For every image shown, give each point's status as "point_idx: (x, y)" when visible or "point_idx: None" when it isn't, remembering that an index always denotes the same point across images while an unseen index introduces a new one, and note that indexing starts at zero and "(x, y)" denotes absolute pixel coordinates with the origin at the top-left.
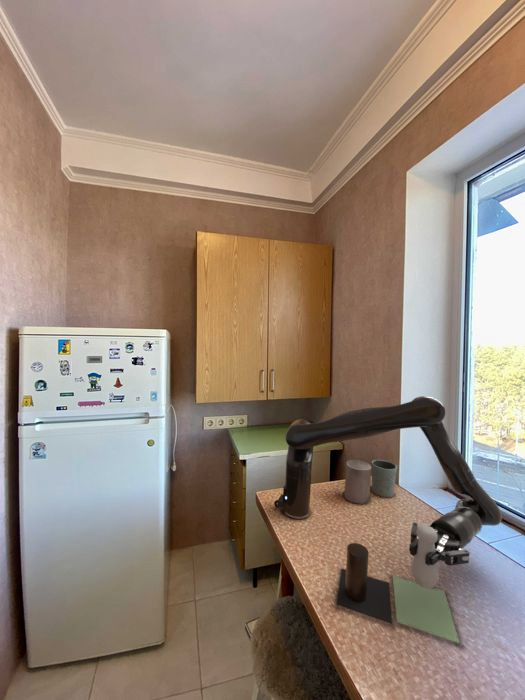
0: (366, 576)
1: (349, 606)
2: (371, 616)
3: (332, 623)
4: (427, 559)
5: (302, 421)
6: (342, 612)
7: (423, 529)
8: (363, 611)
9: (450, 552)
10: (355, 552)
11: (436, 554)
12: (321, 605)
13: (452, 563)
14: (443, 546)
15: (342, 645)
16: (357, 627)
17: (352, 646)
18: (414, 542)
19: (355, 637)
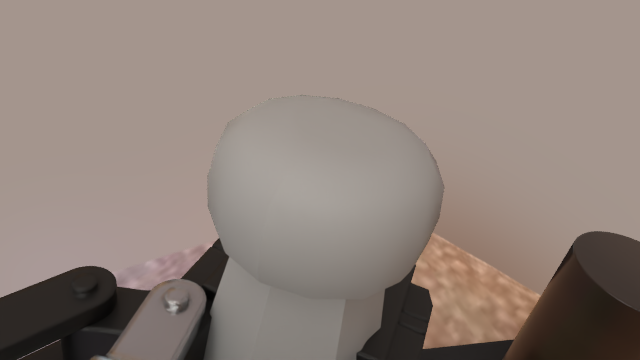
0: (524, 339)
1: (501, 349)
2: (424, 350)
3: (498, 290)
4: None
5: None
6: (503, 335)
7: (370, 115)
8: (455, 354)
9: (53, 305)
10: (625, 250)
11: (207, 271)
12: None
13: (52, 343)
14: (108, 355)
15: (441, 252)
16: (440, 309)
17: (422, 259)
18: (407, 347)
19: (428, 281)
